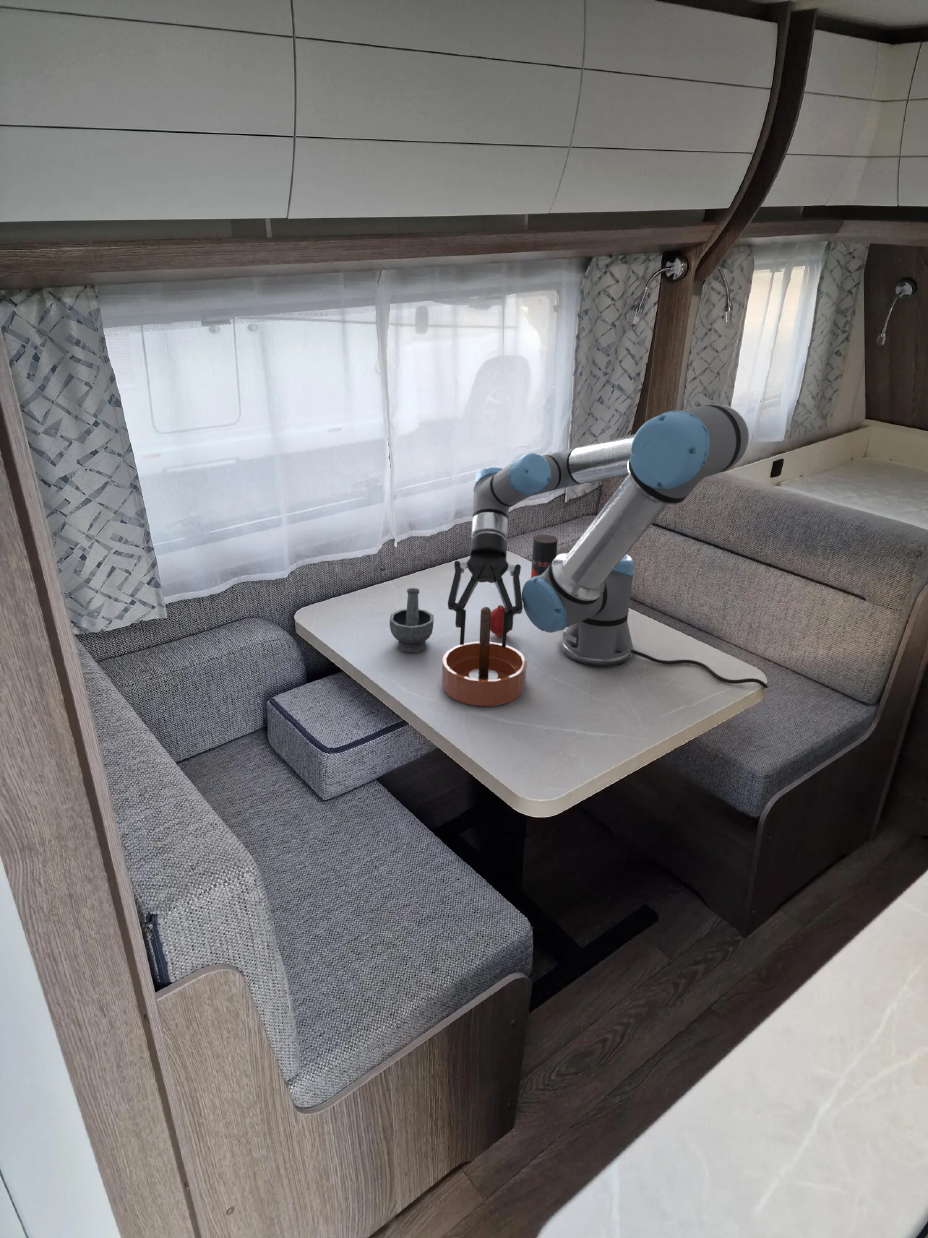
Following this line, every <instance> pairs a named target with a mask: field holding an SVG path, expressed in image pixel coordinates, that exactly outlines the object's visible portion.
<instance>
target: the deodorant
mask: <svg viewBox="0 0 928 1238" xmlns="http://www.w3.org/2000/svg"><path fill="white" fill-rule="evenodd" d="M558 543H559V539H558V537H556V536H555V535H550V534H537V535H535V536H533V538H532V554H531V555H532V556H531V557H532V558H531V569H530V571H531V572H530V579H531V578H532V577H534V576H540V575H541V574H542V573H544V572H545V570H546V569H547V568H548V567H549V565H550V564H551V563H552V561H553V560H554V559H555V558H556V557H557V556H558V555H557V554H558Z"/></svg>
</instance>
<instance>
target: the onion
mask: <svg viewBox="0 0 928 1238" xmlns="http://www.w3.org/2000/svg"><path fill="white" fill-rule="evenodd" d="M504 612H506V610H505V607H504V605H503V604H498V605H497V607H496V608H494V609H492V610H491V624H490V632H492V633H493V634H494V635H495V636H496V637H498V638H502V635H503V616H504ZM509 632H510V631H509V630H507V634H508V633H509Z"/></svg>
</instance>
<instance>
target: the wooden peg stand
mask: <svg viewBox="0 0 928 1238" xmlns="http://www.w3.org/2000/svg"><path fill="white" fill-rule="evenodd" d="M491 612H492V610H491V609H490V607H488V606H483V607H482V608H481V609H480V615H479V616H480V619H479V621H480V622H479V642H480V645H479V668H478V669H474V670H472V671H470V673H469V676H468V677H469V678H474V679H481V680H492V679H498V674H497V672H495V671H494V670H491V669H489V649H490V642H491V630H490V624H491Z"/></svg>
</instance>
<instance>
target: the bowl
mask: <svg viewBox="0 0 928 1238" xmlns="http://www.w3.org/2000/svg"><path fill="white" fill-rule="evenodd" d="M479 645H480V641H470V642H464V645H460V644H458V645H455V646H452V647H451V648H450V649H448V650H447V651H446V652H445V653H444V655H443V656H442V658H441V659H442V661H441V663H442V664H441V683H442V684H441V686H442V689H443V690H444V692H445V693H446V695H447V696H449V697H450V698H452V699H454V700H455V701H458V702H461V703H463V704H467V705H473V706H479V707H489V706H490V707H491V706H494V707H495V706H499V705H505V704H509V703H511V702H512V701H515V700H517V699H518V698H520V696H522V694H524V692H525V688H526V684H527V683H526V680H527V666H528V663H527V659H526V656H525V655H524V654H523V653H522V652H521V651H520V650H518V649H516V648H514V647H512V646H510V645H507V644H506V647H502V643H500V642H493V641H490V649H489V669H491V670H494V671H495V672H497V674H498V679H492V680H481V679H474V678H469V677H468V676H469V673H470V671H472V670H474V669H478V668H479Z"/></svg>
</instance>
